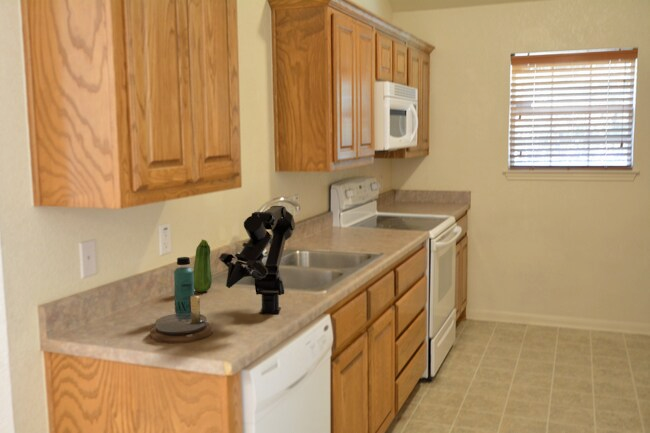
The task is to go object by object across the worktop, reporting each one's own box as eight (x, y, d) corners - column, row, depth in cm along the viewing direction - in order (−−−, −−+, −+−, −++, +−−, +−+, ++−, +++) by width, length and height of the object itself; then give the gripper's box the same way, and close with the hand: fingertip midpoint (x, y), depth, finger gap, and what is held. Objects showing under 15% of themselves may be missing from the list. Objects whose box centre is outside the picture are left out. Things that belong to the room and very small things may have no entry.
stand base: (144, 330, 206) (144, 324, 206) (201, 321, 215) (201, 316, 214) (159, 346, 191) (159, 340, 190) (220, 336, 199) (220, 331, 199)
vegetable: (189, 291, 255) (187, 239, 252) (206, 288, 259) (204, 237, 257) (198, 295, 249) (196, 241, 247) (215, 291, 254) (213, 239, 251)
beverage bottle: (171, 317, 220) (168, 257, 217) (188, 313, 224) (186, 254, 222) (182, 321, 215) (179, 260, 212) (199, 317, 220) (197, 257, 217)
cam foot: (145, 330, 200) (143, 296, 199) (180, 318, 213) (179, 286, 211) (182, 338, 192) (180, 302, 191) (217, 325, 205) (215, 291, 203)
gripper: (289, 265, 209) (261, 307, 203) (252, 257, 223) (226, 296, 217) (268, 244, 203) (239, 286, 197) (232, 237, 217) (204, 276, 211)
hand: (227, 287), depth 206 cm, fingers closed
